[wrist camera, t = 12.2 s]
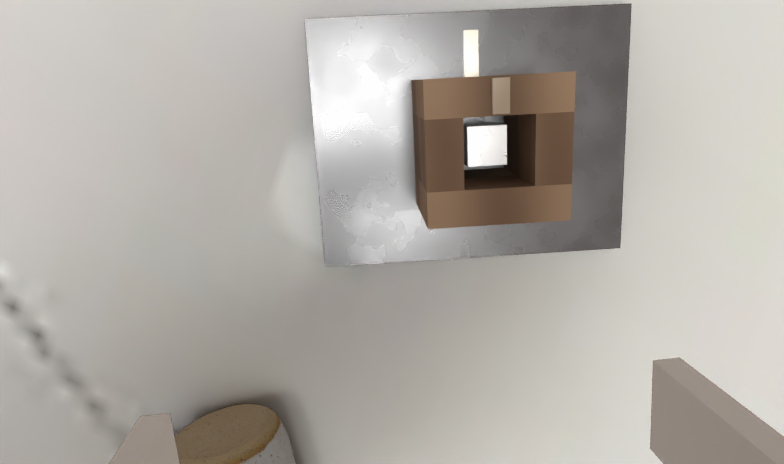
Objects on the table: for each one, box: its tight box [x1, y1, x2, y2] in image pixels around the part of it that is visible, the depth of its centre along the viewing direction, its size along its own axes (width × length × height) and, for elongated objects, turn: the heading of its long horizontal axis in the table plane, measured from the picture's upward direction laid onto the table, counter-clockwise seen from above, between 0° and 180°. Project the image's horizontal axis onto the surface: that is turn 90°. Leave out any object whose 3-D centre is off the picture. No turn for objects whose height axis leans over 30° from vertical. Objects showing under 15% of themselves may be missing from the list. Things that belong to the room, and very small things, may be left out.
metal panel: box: [305, 4, 631, 267], centre depth 30 cm, size 18×14×5 cm
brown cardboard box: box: [411, 71, 576, 229], centre depth 29 cm, size 7×7×6 cm
